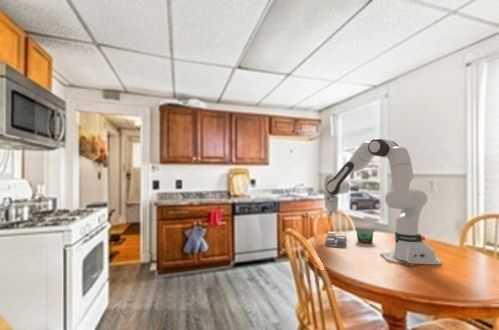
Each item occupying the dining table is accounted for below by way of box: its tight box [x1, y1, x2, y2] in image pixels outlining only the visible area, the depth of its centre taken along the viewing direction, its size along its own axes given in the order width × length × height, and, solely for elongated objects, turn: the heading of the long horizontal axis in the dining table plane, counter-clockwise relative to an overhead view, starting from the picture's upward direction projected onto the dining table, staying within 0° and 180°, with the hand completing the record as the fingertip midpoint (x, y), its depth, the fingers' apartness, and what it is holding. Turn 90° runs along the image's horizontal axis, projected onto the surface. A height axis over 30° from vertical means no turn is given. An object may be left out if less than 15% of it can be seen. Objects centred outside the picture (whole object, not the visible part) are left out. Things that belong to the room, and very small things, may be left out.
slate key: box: [338, 237, 345, 243], centre depth 179 cm, size 4×4×3 cm
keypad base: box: [325, 234, 348, 249], centre depth 187 cm, size 13×28×2 cm, turn 160°
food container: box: [355, 227, 375, 245], centre depth 185 cm, size 12×6×10 cm, turn 73°
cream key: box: [327, 231, 336, 237], centre depth 195 cm, size 4×4×3 cm
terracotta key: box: [326, 237, 334, 242], centre depth 182 cm, size 4×4×3 cm
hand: (330, 216), depth 195 cm, fingers closed
